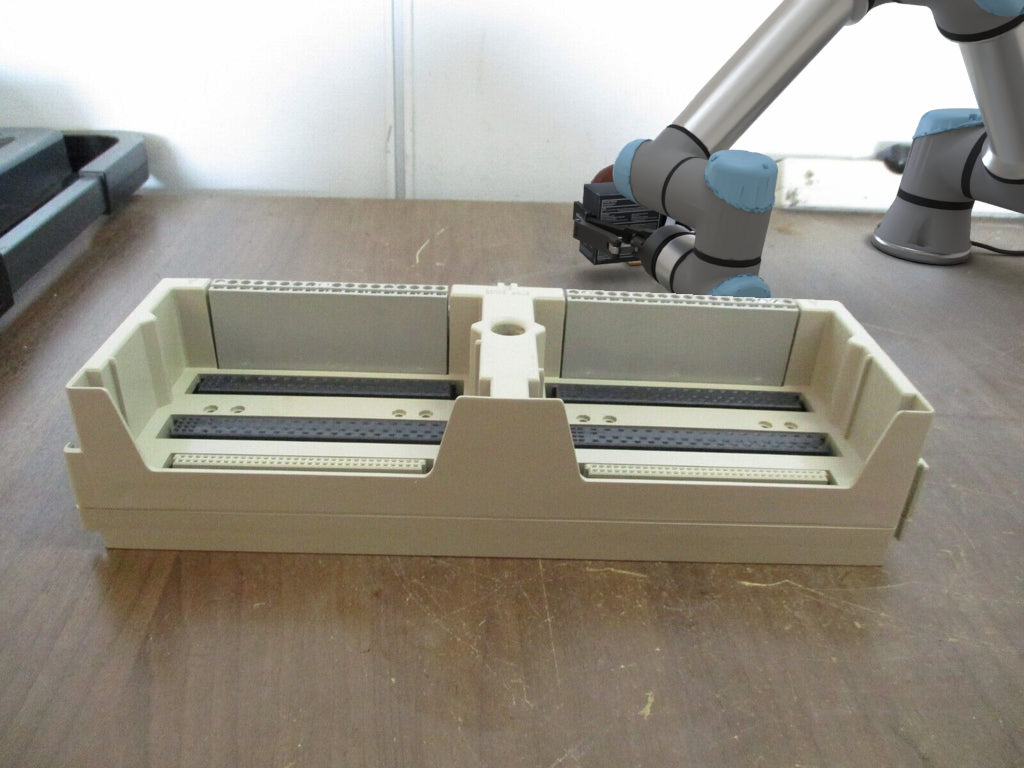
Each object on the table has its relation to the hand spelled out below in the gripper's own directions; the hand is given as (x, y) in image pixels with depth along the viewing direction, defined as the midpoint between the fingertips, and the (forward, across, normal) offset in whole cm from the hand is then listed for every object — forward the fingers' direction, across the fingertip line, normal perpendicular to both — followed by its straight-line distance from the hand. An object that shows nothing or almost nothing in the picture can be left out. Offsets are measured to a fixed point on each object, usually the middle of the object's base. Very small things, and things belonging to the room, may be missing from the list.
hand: (610, 207), depth 115 cm
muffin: (+19, +11, -9) cm, 24 cm away
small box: (-4, 0, -6) cm, 7 cm away
